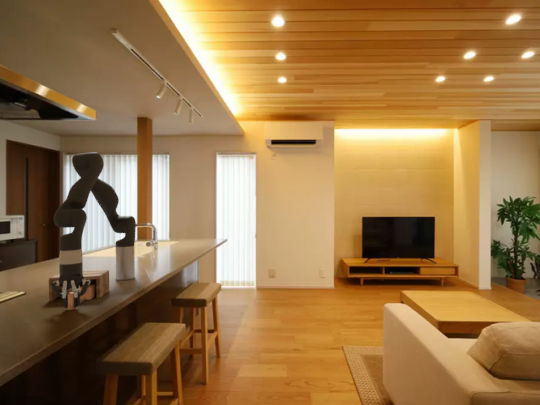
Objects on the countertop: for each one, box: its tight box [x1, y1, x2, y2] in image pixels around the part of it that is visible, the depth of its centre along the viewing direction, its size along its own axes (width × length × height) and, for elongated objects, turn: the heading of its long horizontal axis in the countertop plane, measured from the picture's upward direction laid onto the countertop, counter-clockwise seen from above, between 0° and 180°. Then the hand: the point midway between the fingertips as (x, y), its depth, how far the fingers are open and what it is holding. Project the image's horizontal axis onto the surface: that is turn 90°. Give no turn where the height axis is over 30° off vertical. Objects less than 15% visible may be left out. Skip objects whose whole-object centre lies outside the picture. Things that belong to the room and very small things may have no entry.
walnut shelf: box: [48, 269, 110, 302], centre depth 142 cm, size 12×20×9 cm, turn 99°
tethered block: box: [67, 285, 96, 311], centre depth 131 cm, size 18×5×6 cm, turn 9°
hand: (71, 307), depth 123 cm, fingers closed on tethered block, 2 cm apart
